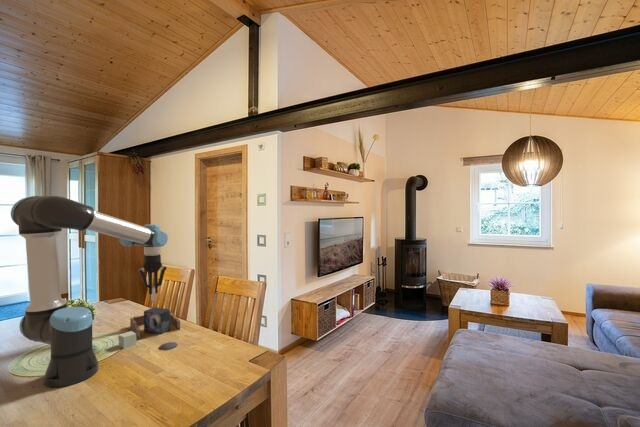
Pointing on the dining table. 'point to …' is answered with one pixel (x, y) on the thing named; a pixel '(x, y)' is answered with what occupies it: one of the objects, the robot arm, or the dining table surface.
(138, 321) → the brown u-shaped wall
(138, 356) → the dining table surface
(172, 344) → the coaster
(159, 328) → the small box
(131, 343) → the sage cube
